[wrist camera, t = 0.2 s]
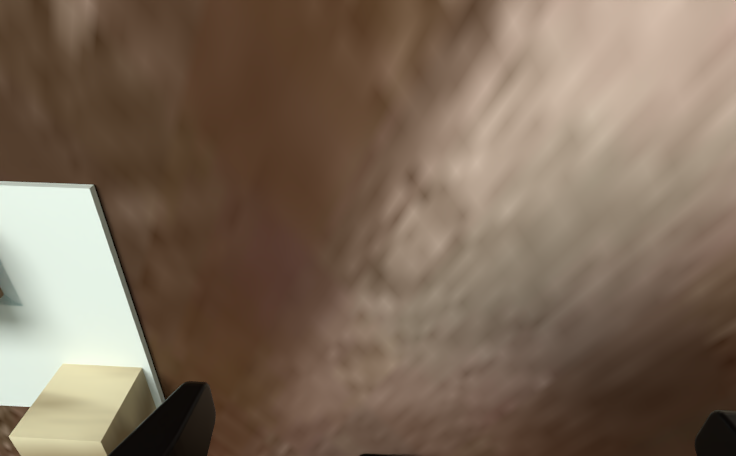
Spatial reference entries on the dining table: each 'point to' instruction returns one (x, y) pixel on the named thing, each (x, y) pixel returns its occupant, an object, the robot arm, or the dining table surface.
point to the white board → (61, 291)
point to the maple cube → (84, 411)
